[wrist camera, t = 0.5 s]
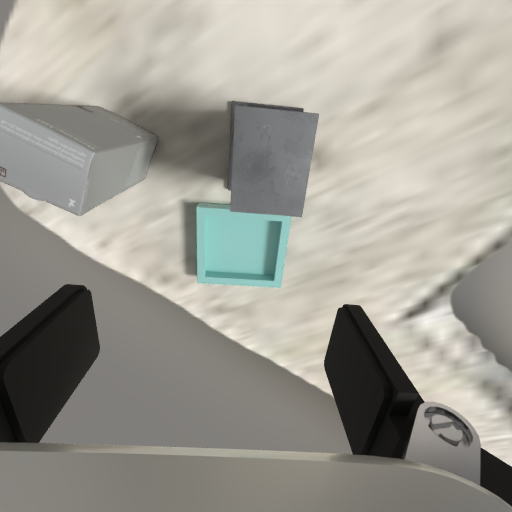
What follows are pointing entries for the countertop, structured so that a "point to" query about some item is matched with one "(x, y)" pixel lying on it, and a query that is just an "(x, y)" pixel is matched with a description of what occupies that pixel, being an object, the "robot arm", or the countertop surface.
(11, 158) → the skincare box
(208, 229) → the tray
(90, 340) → the robot arm
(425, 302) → the countertop surface
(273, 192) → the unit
